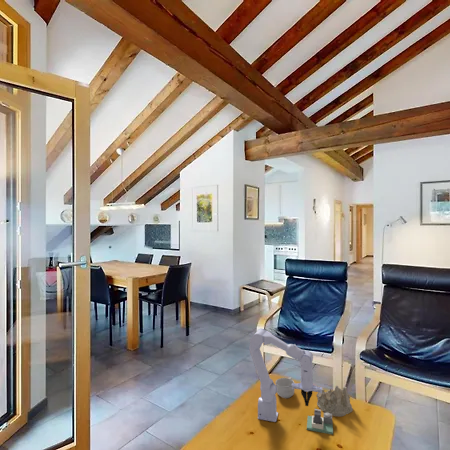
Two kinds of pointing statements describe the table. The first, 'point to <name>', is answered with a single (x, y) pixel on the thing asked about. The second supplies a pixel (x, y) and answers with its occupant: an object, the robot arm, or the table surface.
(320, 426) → the board
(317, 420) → the plug
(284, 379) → the teacup
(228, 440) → the table surface
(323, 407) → the grey jagged lump
